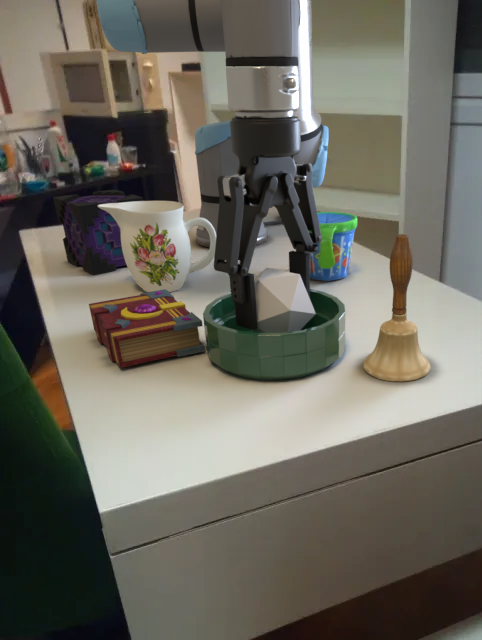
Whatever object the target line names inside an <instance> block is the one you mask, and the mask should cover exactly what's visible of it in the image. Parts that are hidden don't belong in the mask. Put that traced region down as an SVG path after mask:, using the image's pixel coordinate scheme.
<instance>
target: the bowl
mask: <svg viewBox="0 0 482 640" xmlns="http://www.w3.org/2000/svg"><path fill="white" fill-rule="evenodd" d="M310 301H311V303H312V306H313V308H314V310H315V313H316V314H315V315H314V316H313V317H312V318H311V319H310V320H309V321H308V322H307V323H306V324H305V325H304V327H303V328H302V329H301V330H300V331H293V332H285V333H254V332H253V330H251V329H248V328H244V327H240V326H237V325H236V313H235V302H233V301H232V298H231V292H230V293H228V294H225V295H223V296H220V297H217V298H215V299H214V300H212V301H211V302H210V303H208V304H207V305H206V306H205V308H204V310H203V311H202V318H203V327H204V336H205V344H206V345H205V346H206V352H207V355H208V357H209V359H210V361H211V362H212V363H213V364H215V365H217V366H218V367H219V368H221V369H223V370H224V371H226V372H228V373H230V374H232V375H236V376H239V377H242V378H243V377H244V378H246V379H254V380H266V381H268V380H269V381H278V380H279V381H280V380H289V379H296V378H302V377H305V376H309V375H313V374H316V373H318V372H320V371H323V370H325V369H327V368H328V367H329V366H331V365H332V364H333V363H335V362H336V361H338V360H339V359H340V358H341V357H342V355H343V354H344V352H345V351H346V350H345V349H346V307H345V303H343V302H342V300H340V299H339V298H338V297H336V296H334V295H332V294H330V293H328V292H326V291H321V290H317V289H311V288H310Z"/></svg>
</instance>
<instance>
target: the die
mask: <svg viewBox="0 0 482 640" xmlns="http://www.w3.org/2000/svg"><path fill="white" fill-rule="evenodd" d="M254 281H255V296H256V311H257V326H258V328H257V329H255V330H253V332H254V333H285V332H293V331H300V330H301V329H302V328H303V327H304V325H305V324H306V323H307V322H308V321H309V320H310V319H311V318H312V317H313V316H314V315H315V314H316V313H315V310H314V308H313V306H312V303H311V301H310V298H309V296H308V293H307V291H306V288H305V286H304V284H303V281H302V279H301V276H300V274H295V273H290V272H289V271H286V270H280V269H275V268H272V267H271V268H270V267H265V269H264V270H262V272H261V273H260V274H259V275H258V276H257V277H256V278H254Z"/></svg>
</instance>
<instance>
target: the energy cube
mask: <svg viewBox="0 0 482 640" xmlns="http://www.w3.org/2000/svg"><path fill="white" fill-rule="evenodd" d="M52 199H53V203H54V207H55V212H56V216H57V221H58V222H59V223H60V224H62V227H63V231H64V236H65V237H64V238H62V242H63V247H64V252H65V256H66V259H67V262H68V263H69V264H71V265H73V266H75V267H82V270H83V271H84V272H85V273H88V274H89V275H91V276H97V275H102V274H106V273H111V272H115V271H116V270H117V268H118V267H124V266H127V265H126V262H125V259H124V255H123V251H122V245H121V230H120V227H119V225H118V224H117V222H116V220H115V219H114V218H113V217H112V216H111V214H109V213H108V212H106V211H105V210H102V209H100V208H99V207H98V205H100V204H108V203H122V202H133V201H144V197H143V196H140V195H135V194H128V195H126V194H125V191H122V190H119V189H107V190H99V191H93V192H92V195H84V196H80V195H79V194H76V193H73V194H66V195H60V196H59V195H58V196H53V198H52Z"/></svg>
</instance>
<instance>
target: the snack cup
mask: <svg viewBox="0 0 482 640" xmlns="http://www.w3.org/2000/svg"><path fill="white" fill-rule="evenodd" d="M317 214H318V220H319V225H320V231H321V236H322V240H321V242H320V244H316V245H318V251H317V252H316V253H312V252H311V253H310V254H311V273H310V280H315V281H324V282H331V281H337V280H341V279H344V278H346V277H347V275H348V274H349V269H350V263H351V258H352V251H353V245H354V237H355V231H356V229H357V227H358V216H356V215H355V214H352V213H347V212H340V211H317ZM309 233H312V231H309Z"/></svg>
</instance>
